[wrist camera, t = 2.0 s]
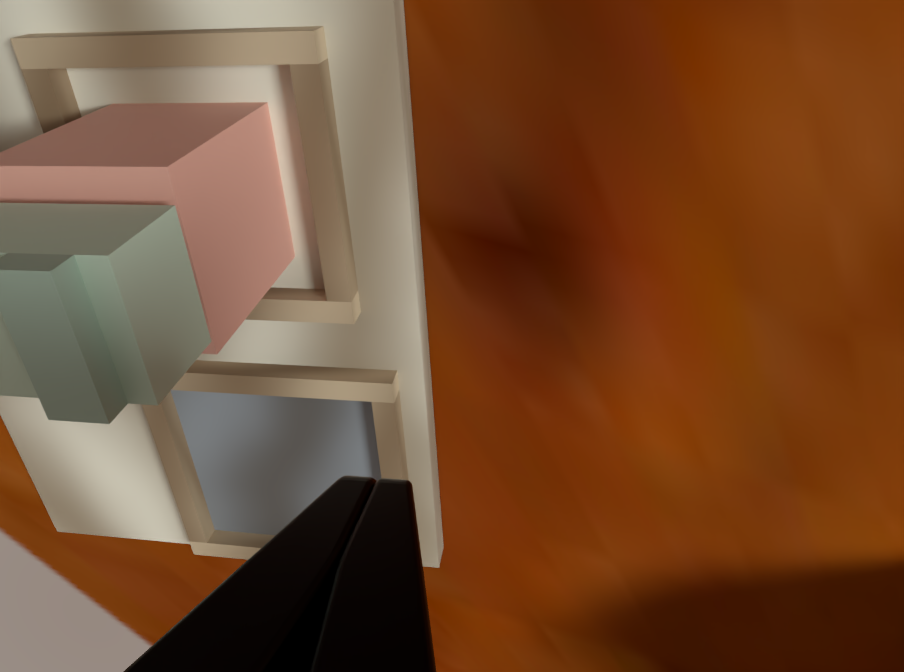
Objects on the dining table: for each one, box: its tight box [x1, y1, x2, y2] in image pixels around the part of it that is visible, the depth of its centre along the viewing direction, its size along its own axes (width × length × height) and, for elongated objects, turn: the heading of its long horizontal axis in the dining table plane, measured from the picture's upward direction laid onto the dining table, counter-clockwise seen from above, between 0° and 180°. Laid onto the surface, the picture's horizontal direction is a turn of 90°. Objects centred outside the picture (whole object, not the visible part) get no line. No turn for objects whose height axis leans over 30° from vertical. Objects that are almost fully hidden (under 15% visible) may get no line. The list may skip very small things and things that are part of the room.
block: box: [0, 102, 295, 354], centre depth 16 cm, size 4×4×5 cm
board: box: [0, 0, 443, 568], centre depth 19 cm, size 16×20×7 cm
